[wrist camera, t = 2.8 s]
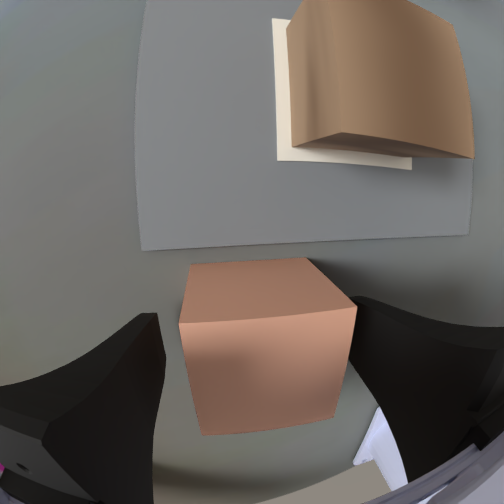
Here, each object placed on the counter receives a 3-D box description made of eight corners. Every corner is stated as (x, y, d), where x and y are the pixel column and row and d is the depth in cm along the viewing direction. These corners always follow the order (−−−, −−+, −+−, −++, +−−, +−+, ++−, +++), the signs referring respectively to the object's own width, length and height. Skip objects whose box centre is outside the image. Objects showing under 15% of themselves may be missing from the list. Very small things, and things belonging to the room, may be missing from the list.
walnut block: (393, 52, 8) (452, 24, 5) (403, 157, 10) (474, 159, 6) (285, 28, 8) (321, -29, 4) (291, 147, 9) (341, 132, 5)
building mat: (449, 36, 9) (455, 34, 8) (463, 233, 12) (469, 235, 11) (152, -18, 7) (151, -24, 6) (144, 248, 10) (141, 251, 9)
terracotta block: (304, 256, 11) (357, 306, 7) (299, 348, 12) (333, 417, 8) (191, 263, 10) (178, 323, 6) (202, 357, 12) (202, 435, 7)
